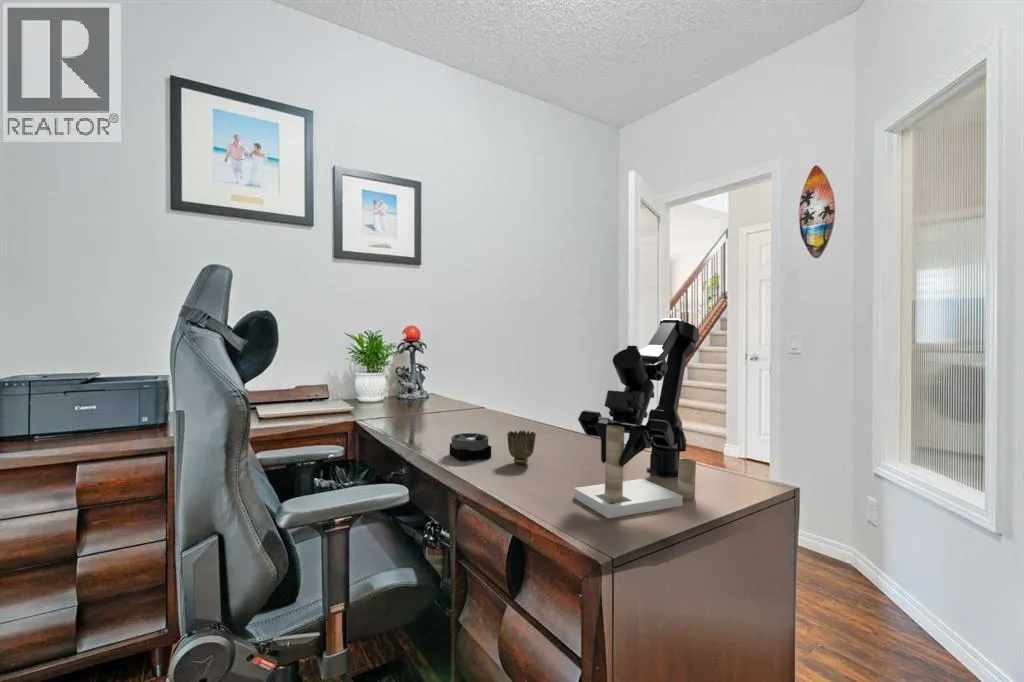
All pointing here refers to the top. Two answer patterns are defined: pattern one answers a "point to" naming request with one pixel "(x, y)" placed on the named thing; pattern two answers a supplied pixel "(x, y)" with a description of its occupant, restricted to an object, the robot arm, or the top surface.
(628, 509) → the hole plate
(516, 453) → the cup
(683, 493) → the short pin
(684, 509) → the top surface
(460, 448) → the cpu cooler
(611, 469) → the long pin
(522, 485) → the top surface
